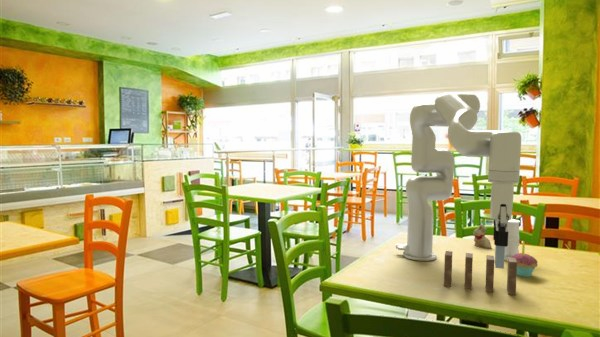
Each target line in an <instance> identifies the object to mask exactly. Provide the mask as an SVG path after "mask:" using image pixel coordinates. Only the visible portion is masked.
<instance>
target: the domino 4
mask: <svg viewBox="0 0 600 337" xmlns="http://www.w3.org/2000/svg"><path fill="white" fill-rule="evenodd" d="M494 247H495V249H494V269H495V268H496V269H502V270H503V269H505V260H504V254H505V246H496V245H494Z"/></svg>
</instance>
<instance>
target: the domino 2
mask: <svg viewBox="0 0 600 337" xmlns="http://www.w3.org/2000/svg"><path fill="white" fill-rule="evenodd" d="M464 259H465V264H464V266H465V267H464V290H470V291H471V290H473V289H472V287H473V286H472V285H473V261H474V260H473V259H474V258H473V253H470V252H465V258H464Z"/></svg>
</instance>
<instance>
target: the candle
mask: <svg viewBox="0 0 600 337" xmlns="http://www.w3.org/2000/svg"><path fill="white" fill-rule="evenodd" d="M520 223H521V221H520V220H519V219H514V218H511V220H510V221H508V246H507V247H505V254H504V261H507V262H508V257H511V256H513V255H514V254H519V247H520Z"/></svg>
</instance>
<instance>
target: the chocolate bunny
mask: <svg viewBox="0 0 600 337" xmlns="http://www.w3.org/2000/svg"><path fill="white" fill-rule="evenodd" d="M487 229H488V228H487V227H486V226H485V225H484V224H483V223H482V224H480V225H479V226H478V227H477V228H475V229H474V230H473V232H472V234H473V236H474V239H473V242H474V246H475V247H477V248H481V249H486V250H487V249H488V250H490V249H492V244H491V241H490V239H489V238H488V237H486V236H485V235H486V231H487Z"/></svg>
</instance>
